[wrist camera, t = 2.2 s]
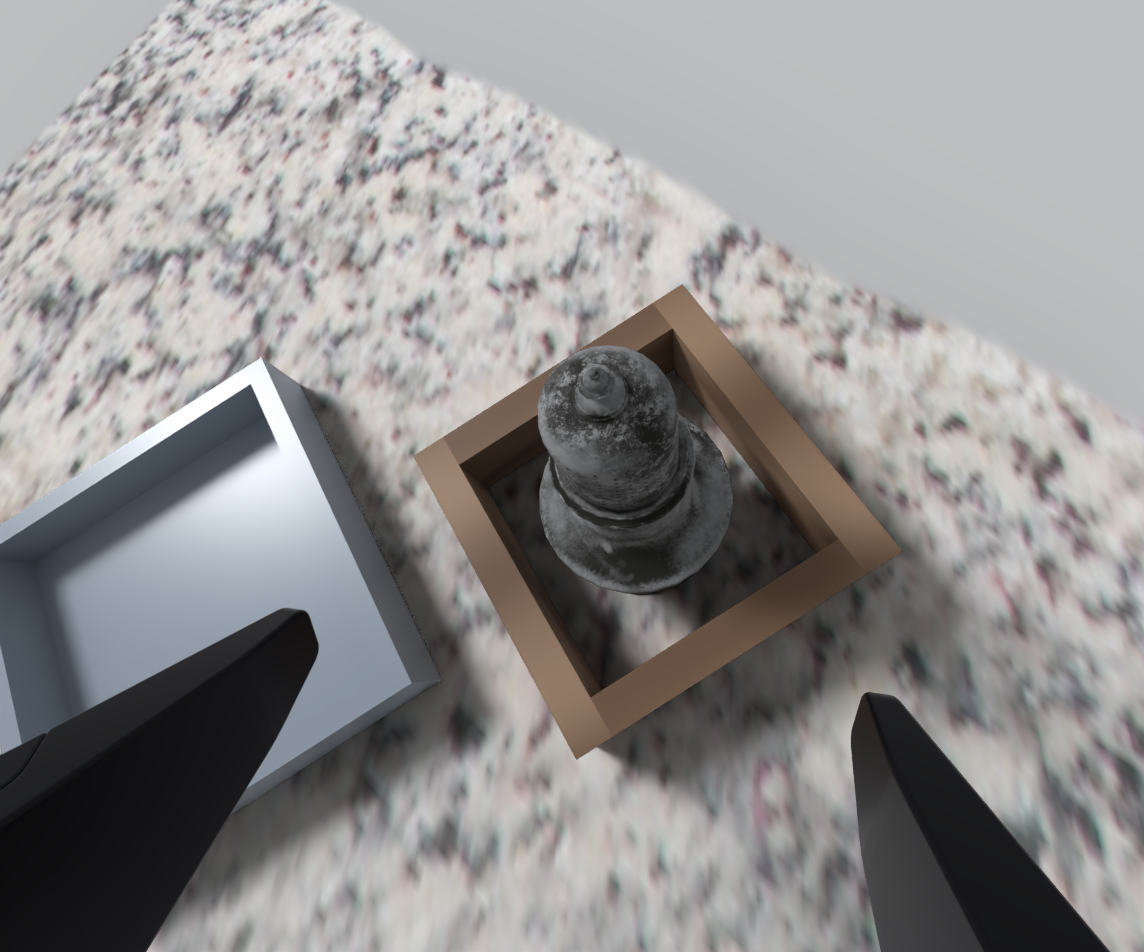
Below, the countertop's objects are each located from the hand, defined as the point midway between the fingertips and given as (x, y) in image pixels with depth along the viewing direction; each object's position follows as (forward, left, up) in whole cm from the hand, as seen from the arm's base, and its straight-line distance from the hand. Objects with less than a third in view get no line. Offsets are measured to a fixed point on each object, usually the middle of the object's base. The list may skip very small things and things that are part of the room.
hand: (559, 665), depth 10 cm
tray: (+10, +13, -11) cm, 20 cm away
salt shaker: (+4, -3, -12) cm, 13 cm away
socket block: (+4, -3, -11) cm, 12 cm away
